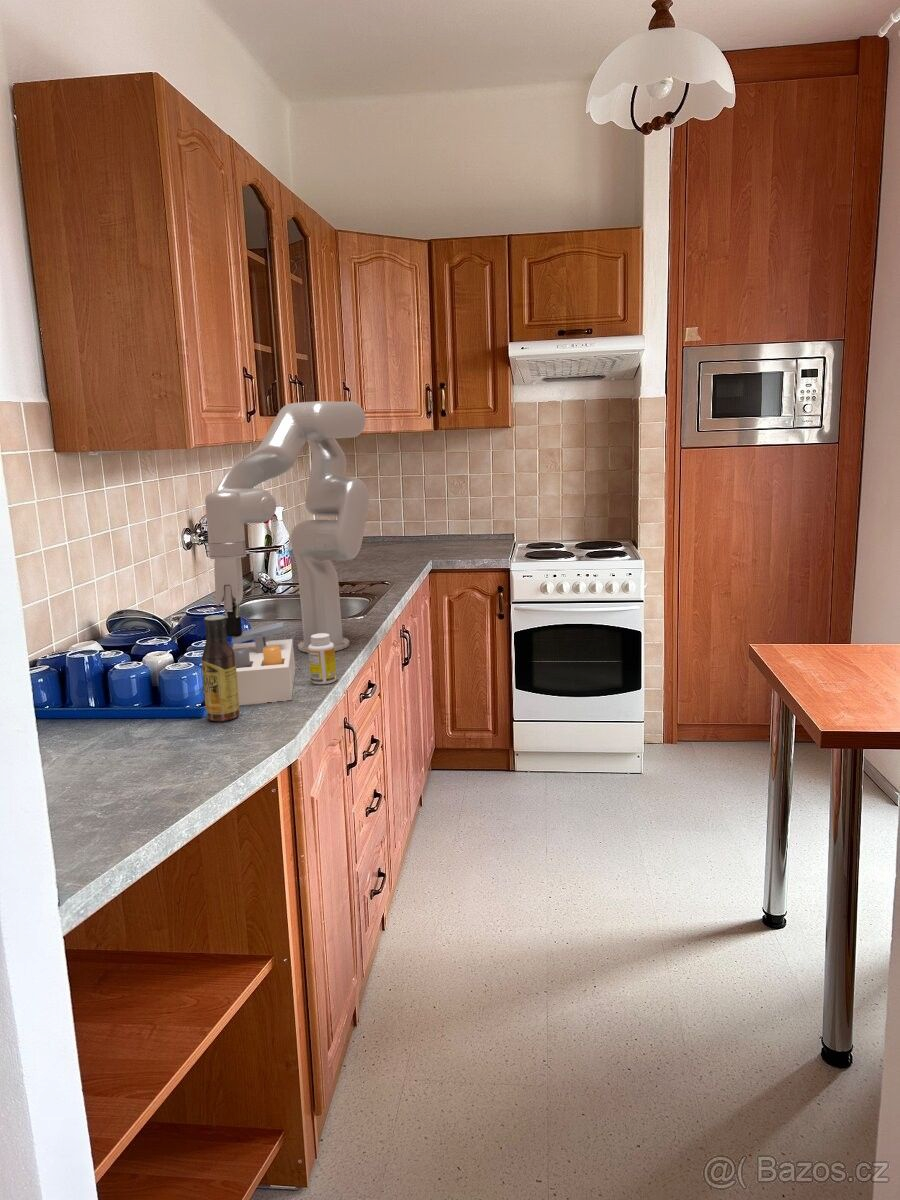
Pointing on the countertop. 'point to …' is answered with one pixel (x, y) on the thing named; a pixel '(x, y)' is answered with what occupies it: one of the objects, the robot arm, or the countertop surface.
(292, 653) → the panel
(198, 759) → the countertop surface
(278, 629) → the rocker
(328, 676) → the supplement bottle
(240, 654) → the button charcoal
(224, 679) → the sauce bottle
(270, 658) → the button orange
